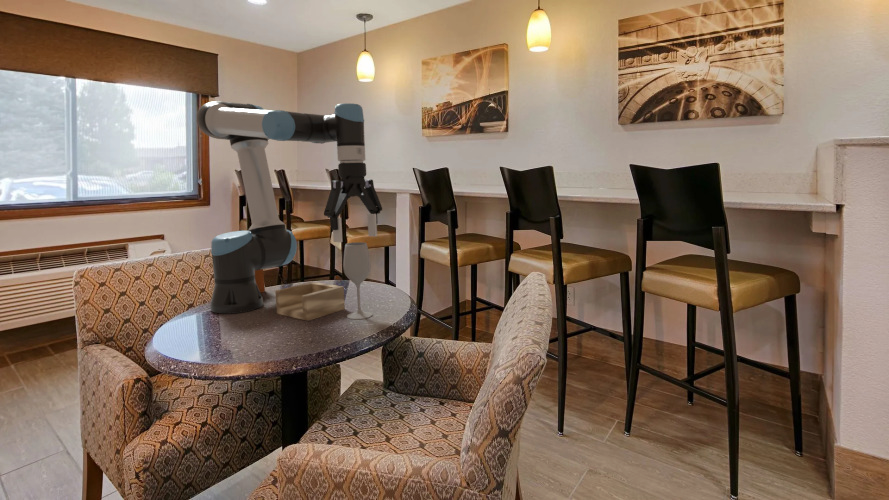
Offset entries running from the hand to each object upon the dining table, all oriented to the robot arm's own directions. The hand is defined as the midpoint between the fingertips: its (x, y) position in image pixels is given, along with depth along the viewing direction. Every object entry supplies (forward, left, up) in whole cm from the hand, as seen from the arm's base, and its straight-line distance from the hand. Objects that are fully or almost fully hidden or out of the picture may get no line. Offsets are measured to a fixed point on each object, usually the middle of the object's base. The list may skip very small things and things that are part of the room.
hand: (356, 239), depth 141 cm
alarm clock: (-53, -2, -23) cm, 58 cm away
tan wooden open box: (-16, -4, -22) cm, 28 cm away
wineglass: (0, 0, -23) cm, 23 cm away
